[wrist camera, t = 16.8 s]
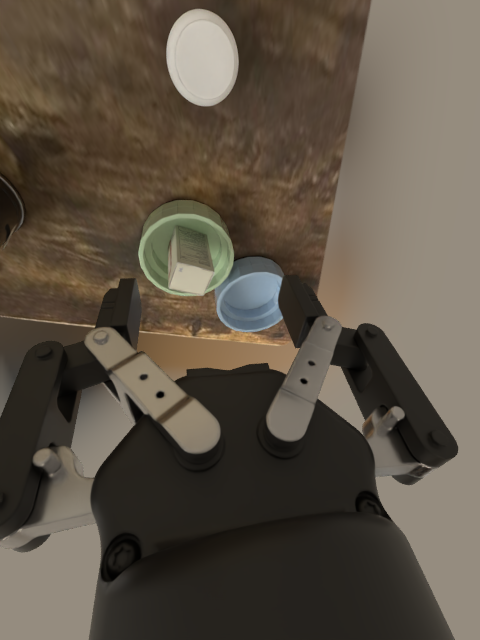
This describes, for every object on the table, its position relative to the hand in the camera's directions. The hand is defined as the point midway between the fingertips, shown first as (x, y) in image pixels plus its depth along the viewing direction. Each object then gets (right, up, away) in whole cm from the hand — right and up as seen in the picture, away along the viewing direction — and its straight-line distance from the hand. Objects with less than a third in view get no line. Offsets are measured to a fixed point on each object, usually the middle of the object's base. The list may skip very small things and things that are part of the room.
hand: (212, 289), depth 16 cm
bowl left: (-7, +10, +28) cm, 31 cm away
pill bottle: (-3, +26, +14) cm, 30 cm away
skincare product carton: (-6, +10, +28) cm, 30 cm away
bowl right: (+3, +4, +36) cm, 36 cm away
